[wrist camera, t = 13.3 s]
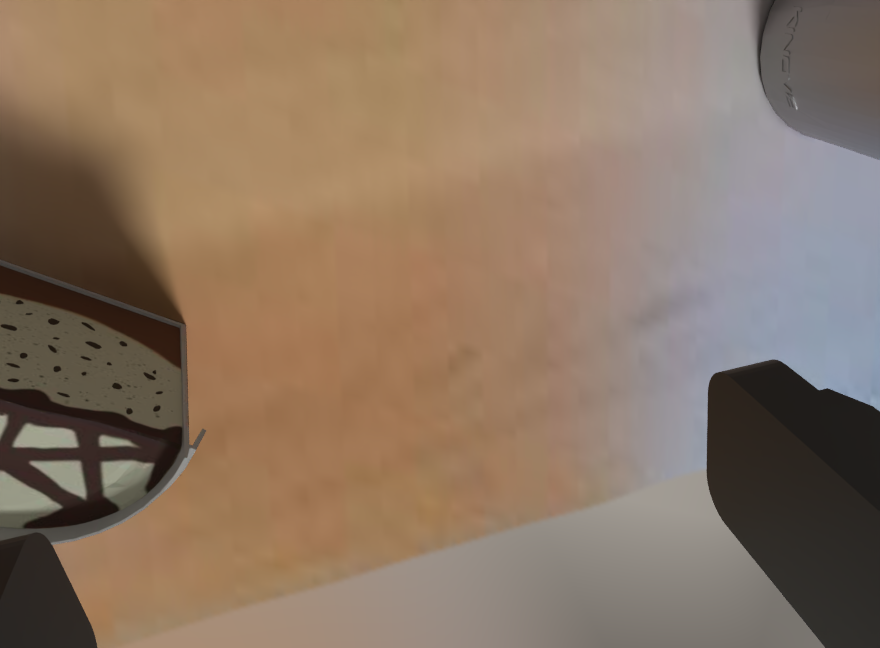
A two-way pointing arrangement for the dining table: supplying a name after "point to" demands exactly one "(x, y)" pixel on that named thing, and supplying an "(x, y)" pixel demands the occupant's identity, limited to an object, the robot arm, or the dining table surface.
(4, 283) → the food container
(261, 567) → the dining table surface
